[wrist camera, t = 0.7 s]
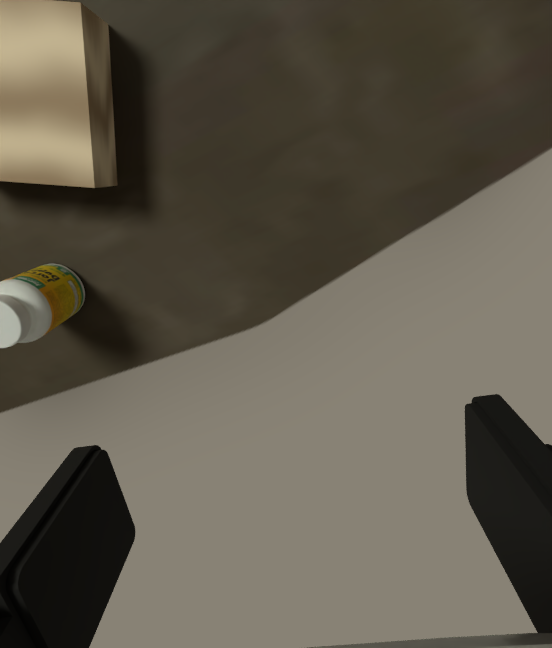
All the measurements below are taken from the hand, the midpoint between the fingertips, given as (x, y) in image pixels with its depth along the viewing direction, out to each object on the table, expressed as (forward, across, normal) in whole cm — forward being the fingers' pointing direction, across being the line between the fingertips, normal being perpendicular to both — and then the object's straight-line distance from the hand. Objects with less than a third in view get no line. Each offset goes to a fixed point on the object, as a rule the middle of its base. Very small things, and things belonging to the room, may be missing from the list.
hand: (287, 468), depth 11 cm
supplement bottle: (+30, +22, 0) cm, 37 cm away
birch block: (+30, +18, -16) cm, 39 cm away
